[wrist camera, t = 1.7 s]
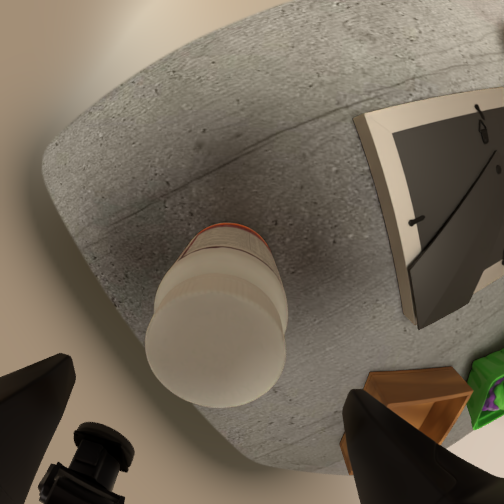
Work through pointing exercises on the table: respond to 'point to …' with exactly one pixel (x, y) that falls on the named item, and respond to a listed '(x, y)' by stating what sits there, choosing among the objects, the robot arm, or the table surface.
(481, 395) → the fruit basket
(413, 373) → the oak box
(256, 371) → the pill bottle
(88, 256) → the table surface
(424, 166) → the picture frame
